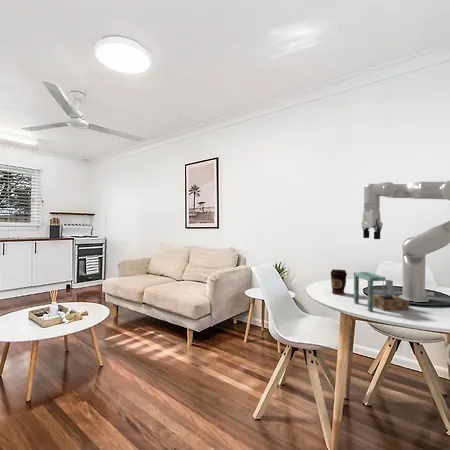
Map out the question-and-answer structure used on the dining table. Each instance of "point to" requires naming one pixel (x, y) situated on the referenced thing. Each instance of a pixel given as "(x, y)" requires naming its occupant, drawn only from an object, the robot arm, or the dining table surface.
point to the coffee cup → (338, 281)
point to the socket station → (377, 299)
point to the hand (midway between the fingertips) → (371, 238)
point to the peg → (387, 289)
